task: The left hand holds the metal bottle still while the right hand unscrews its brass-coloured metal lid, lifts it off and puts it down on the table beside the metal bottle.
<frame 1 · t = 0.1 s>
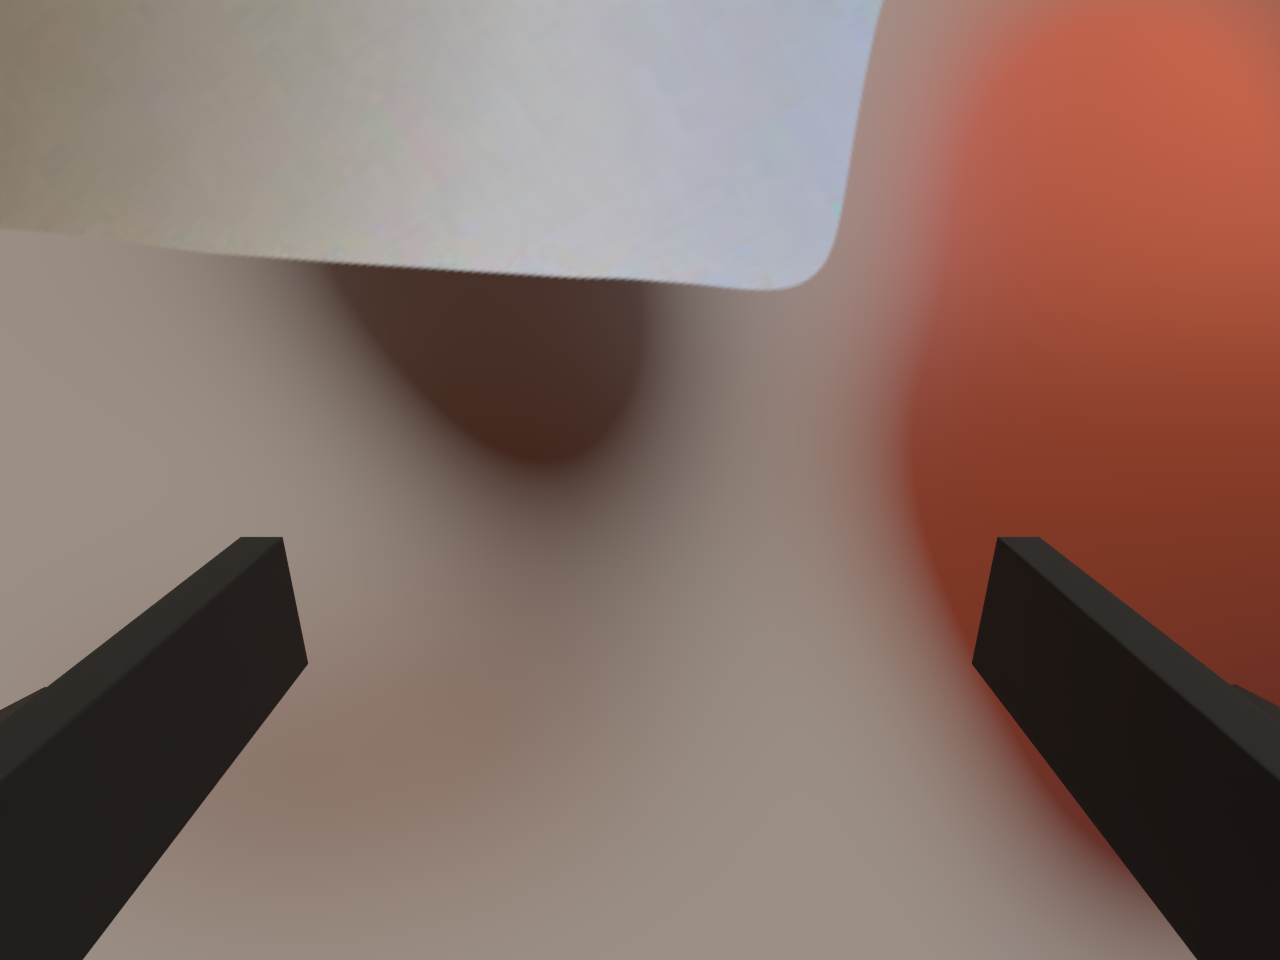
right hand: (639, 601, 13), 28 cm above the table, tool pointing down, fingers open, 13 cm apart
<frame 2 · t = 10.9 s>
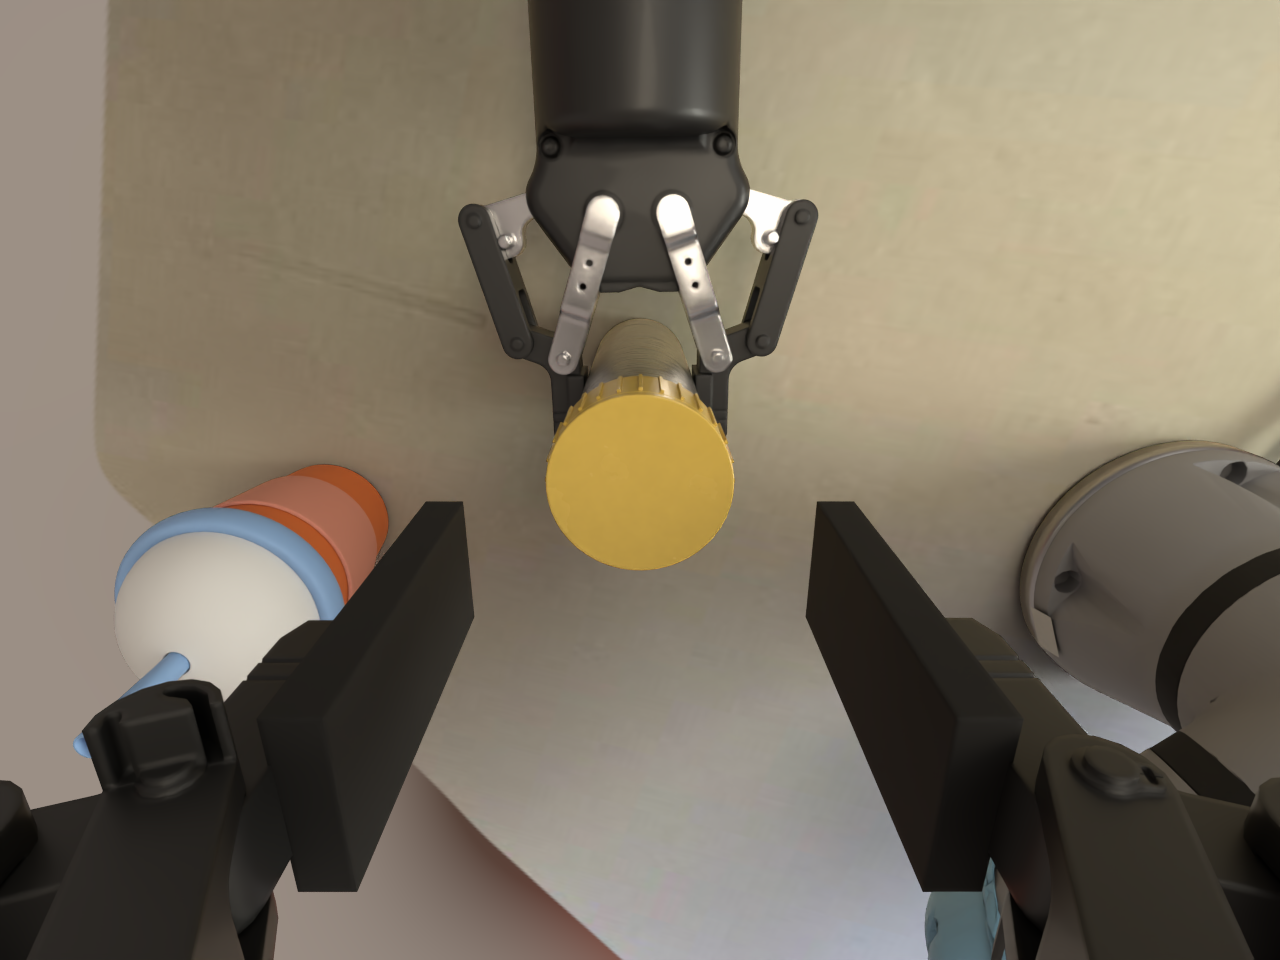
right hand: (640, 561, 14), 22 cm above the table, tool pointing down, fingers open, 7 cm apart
left hand: (641, 452, 30), fingers closed on metal bottle, 4 cm apart
cup with straw: (335, 513, 38), on the table
metal bottle: (640, 363, 35), on the table, touching left hand
lid: (639, 482, 19), point 17 cm above the table, screwed on, not yet turned
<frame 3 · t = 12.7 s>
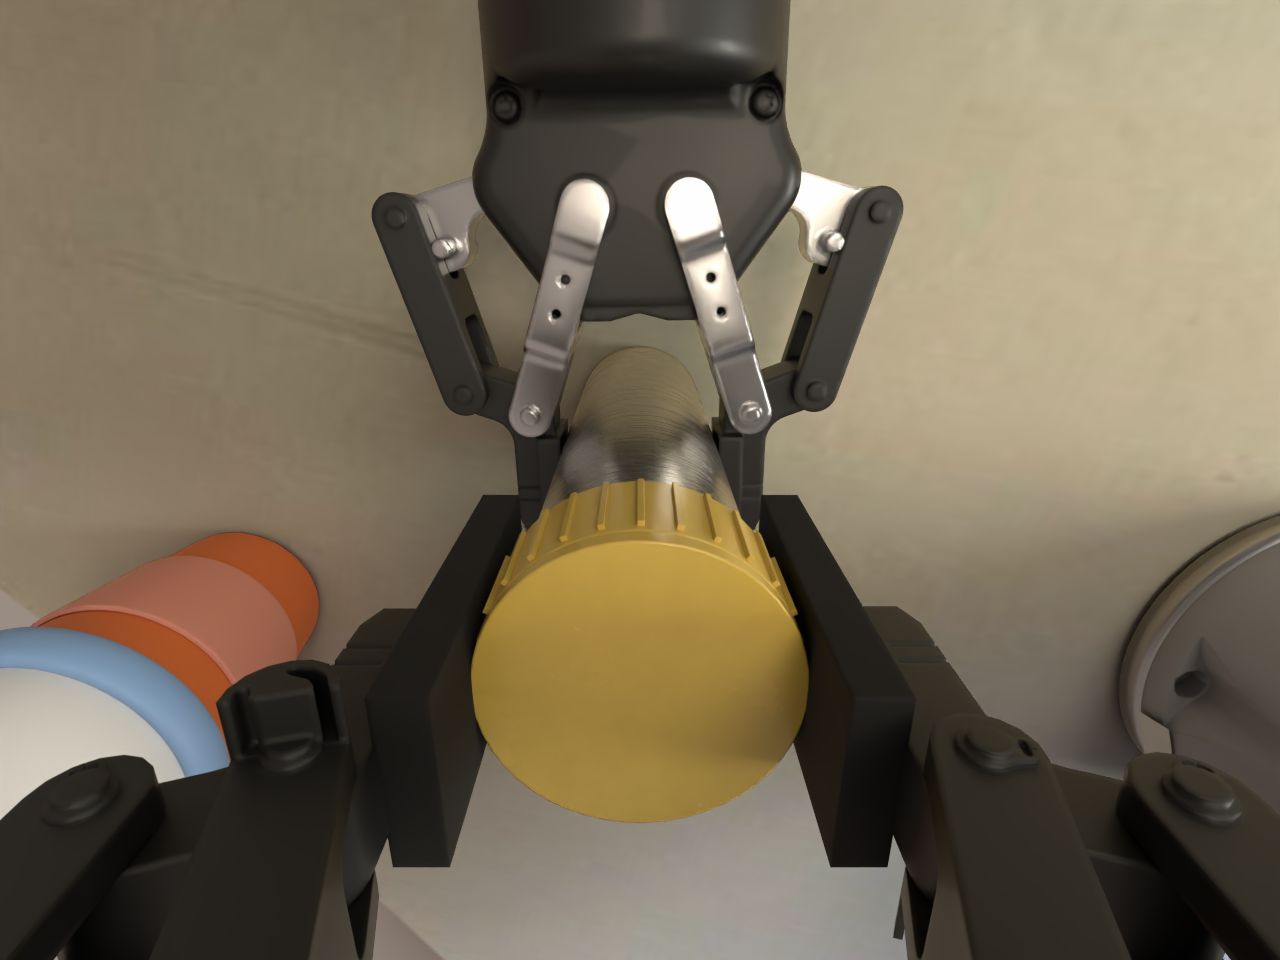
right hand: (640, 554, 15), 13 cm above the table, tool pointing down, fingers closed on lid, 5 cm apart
left hand: (642, 536, 22), fingers closed on metal bottle, 4 cm apart
cup with straw: (252, 592, 30), on the table
metal bottle: (640, 404, 27), on the table, touching left hand
lid: (639, 680, 11), point 17 cm above the table, screwed on, not yet turned, touching right hand
when the right hand's fingers open (13 cm above the table, at t = 14.0 s): lid stays where it is, point 18 cm above the table.
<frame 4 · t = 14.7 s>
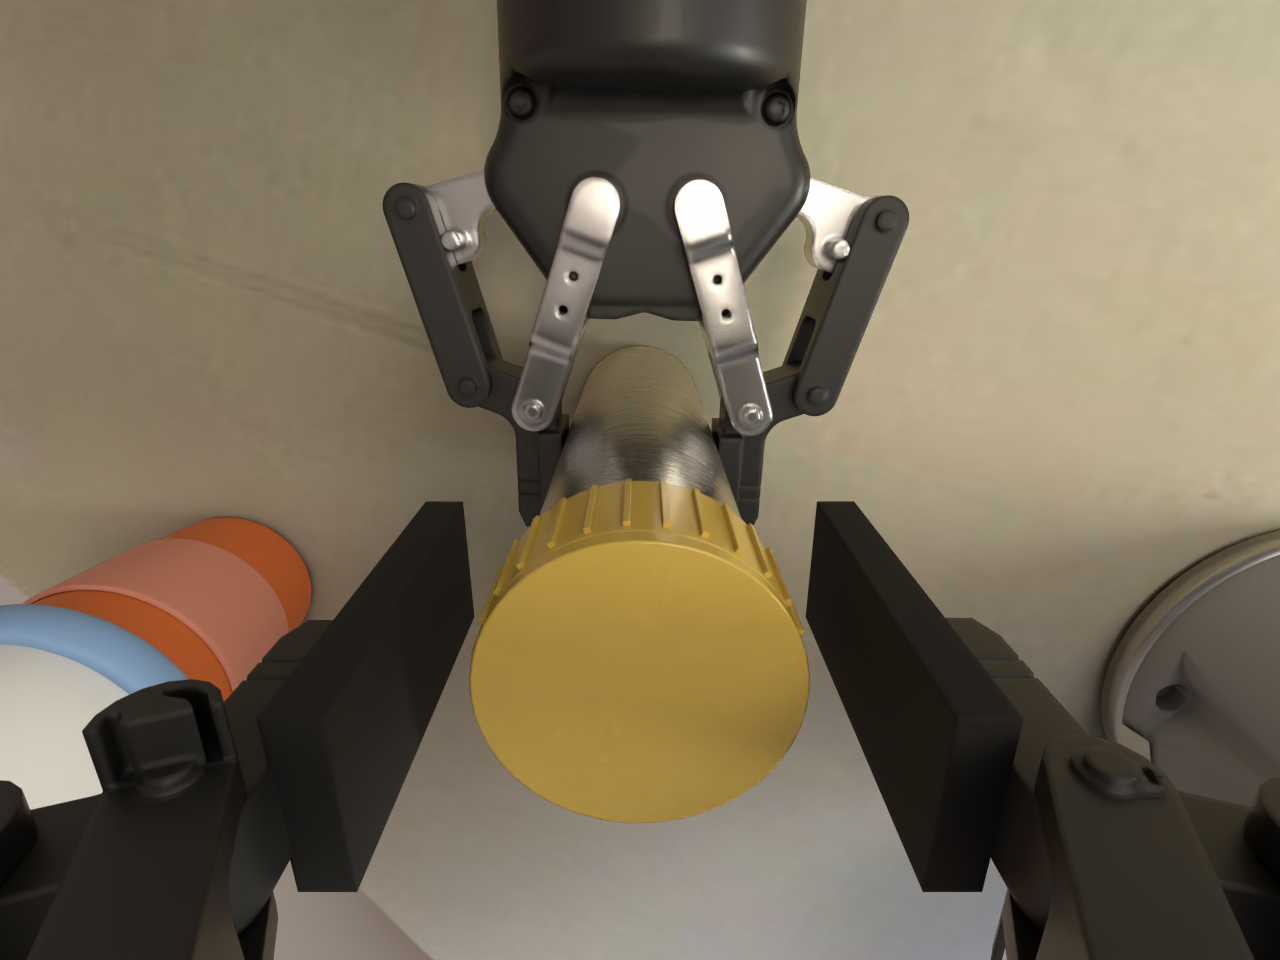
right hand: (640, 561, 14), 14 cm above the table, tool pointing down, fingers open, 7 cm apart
left hand: (639, 534, 22), fingers closed on metal bottle, 4 cm apart
cup with straw: (245, 577, 30), on the table
metal bottle: (640, 403, 27), on the table, touching left hand
lid: (639, 680, 10), point 18 cm above the table, turned 84° so far, risen 0.2 cm, still on its thread
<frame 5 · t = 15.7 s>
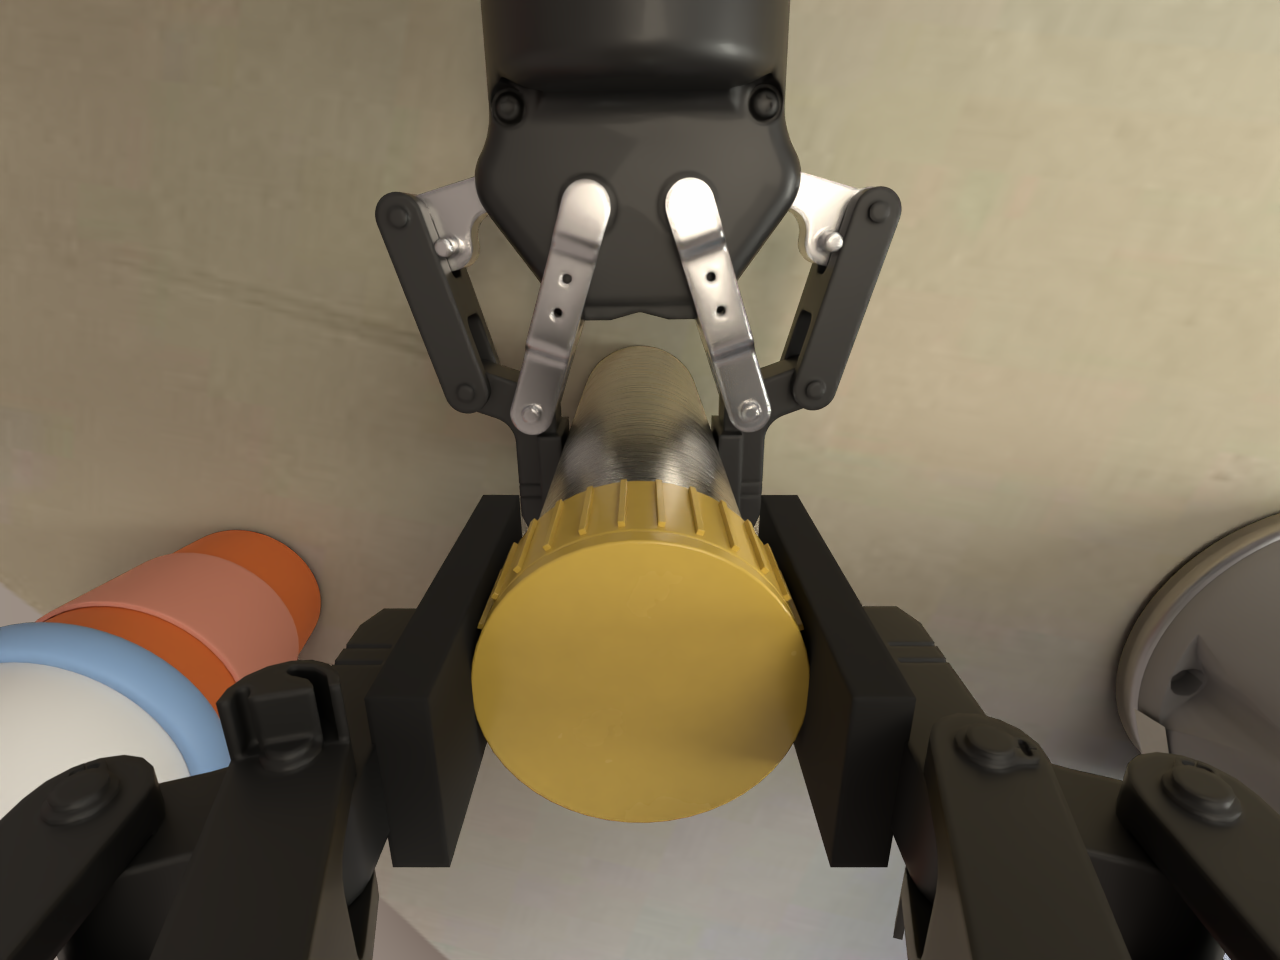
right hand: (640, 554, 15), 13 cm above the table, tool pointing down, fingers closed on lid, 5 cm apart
left hand: (642, 534, 22), fingers closed on metal bottle, 4 cm apart
cup with straw: (254, 589, 30), on the table
metal bottle: (640, 403, 27), on the table, touching left hand
lid: (640, 680, 11), point 18 cm above the table, turned 84° so far, risen 0.2 cm, still on its thread, touching right hand
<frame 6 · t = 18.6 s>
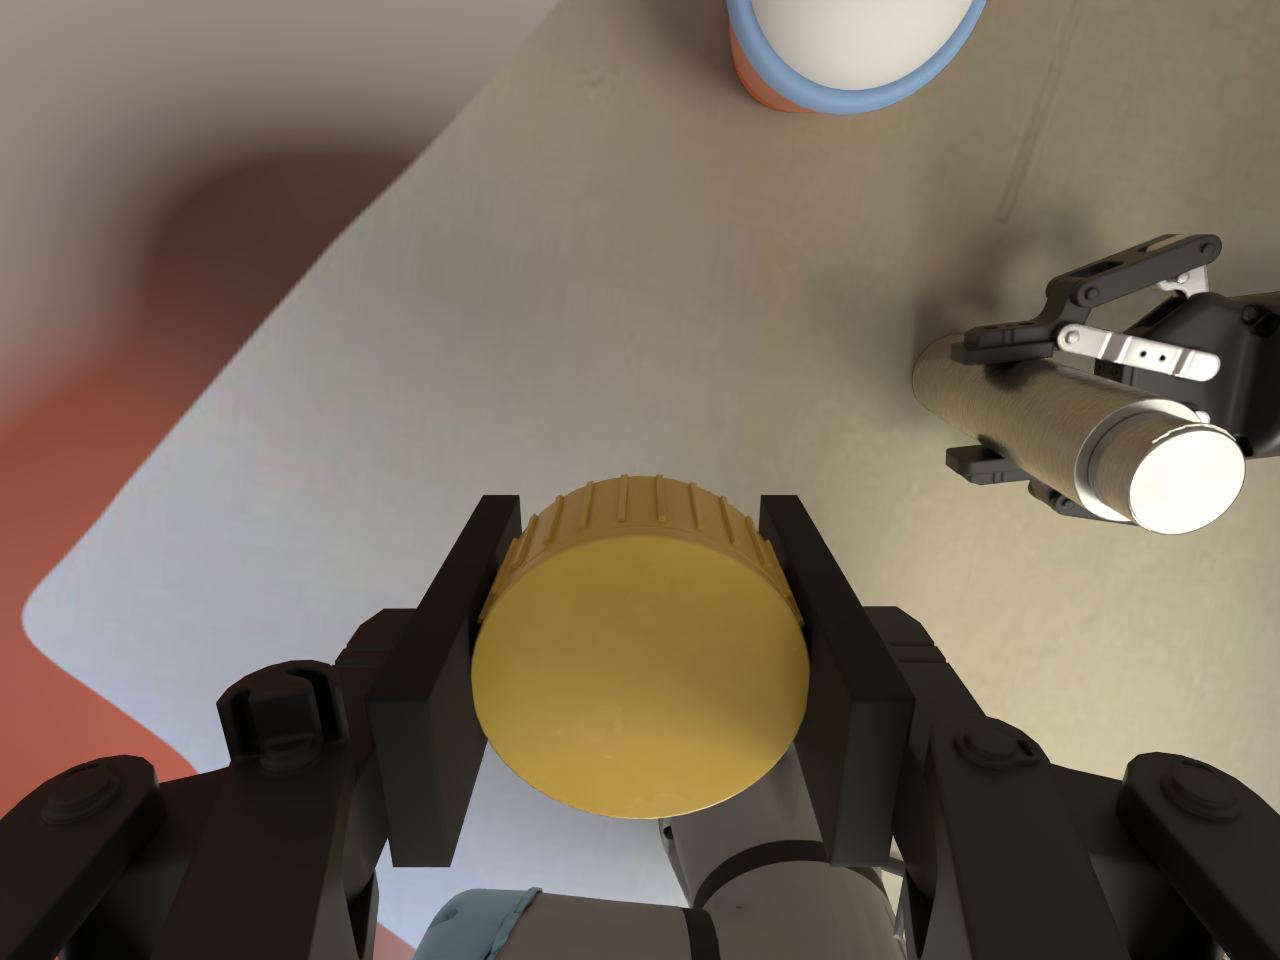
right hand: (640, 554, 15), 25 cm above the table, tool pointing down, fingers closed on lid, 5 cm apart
left hand: (956, 410, 32), fingers closed on metal bottle, 4 cm apart
cup with straw: (794, 41, 32), on the table
metal bottle: (952, 375, 38), on the table, touching left hand
lid: (640, 675, 10), point 29 cm above the table, off its thread, touching right hand
when the right hand's fingers open (0 cm above the table, at t = 21.9 s): lid drops 2 cm, point 2 cm above the table.
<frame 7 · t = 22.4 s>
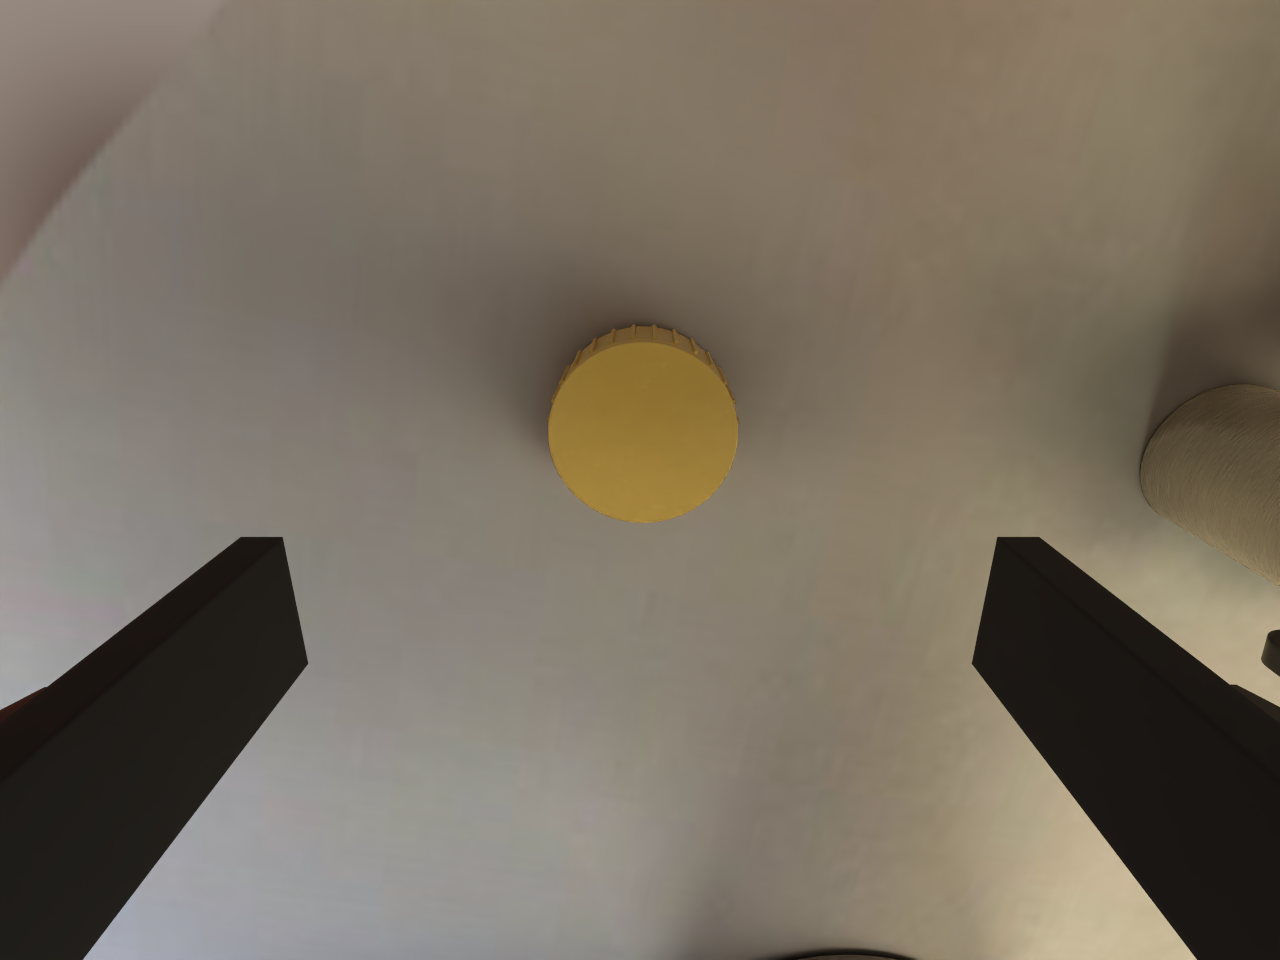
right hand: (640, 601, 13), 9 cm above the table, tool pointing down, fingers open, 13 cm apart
metal bottle: (1216, 456, 21), on the table, touching left hand
lid: (643, 433, 18), point 2 cm above the table, off its thread
when the left hand's fingers open (7 cm above the table, at t = 22.5 s): metal bottle stays where it is, on the table.
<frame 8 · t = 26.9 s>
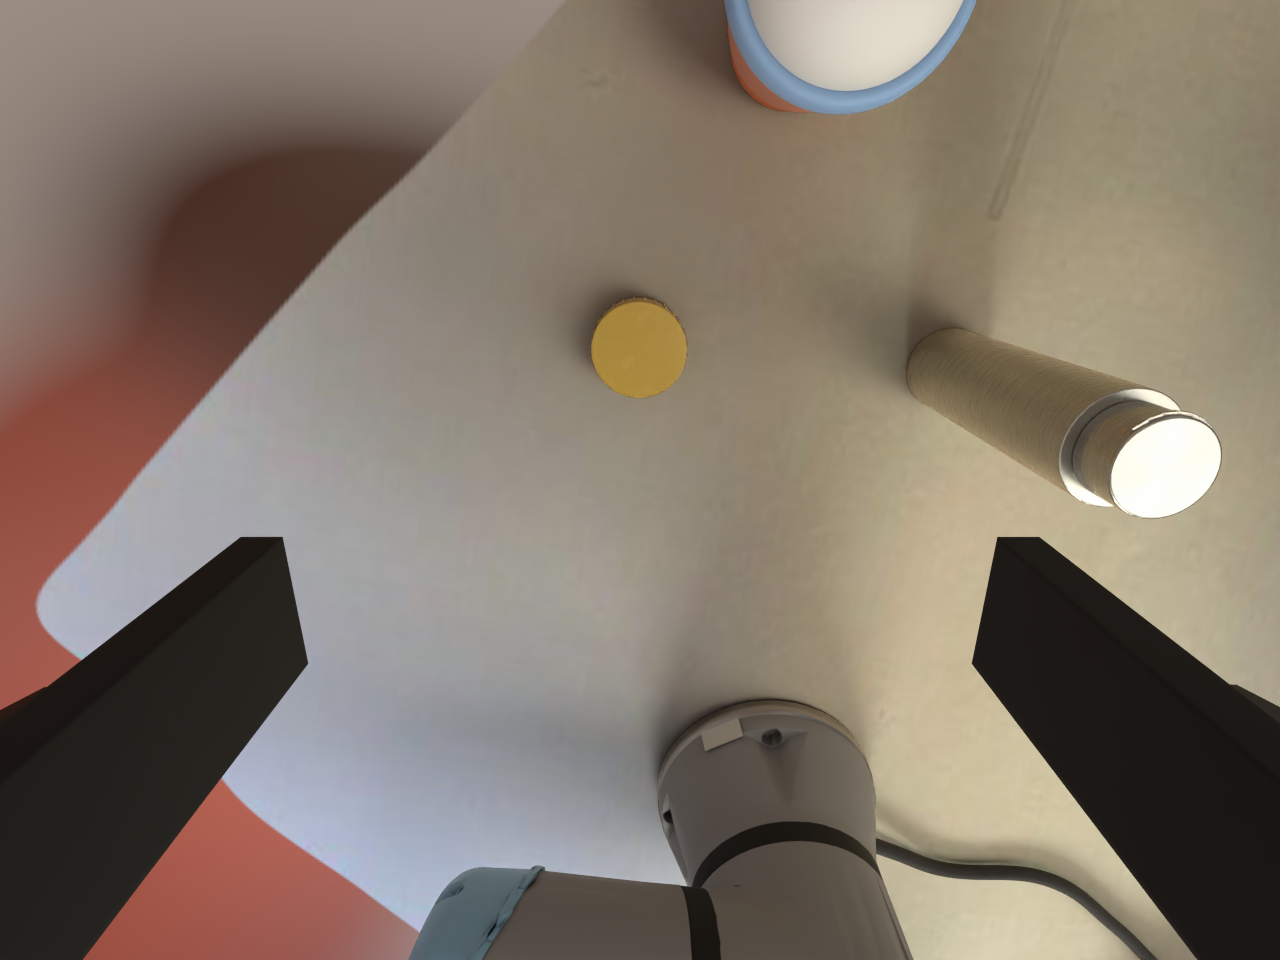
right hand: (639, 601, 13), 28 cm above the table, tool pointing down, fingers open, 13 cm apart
cup with straw: (791, 42, 33), on the table
metal bottle: (946, 368, 39), on the table
lid: (639, 350, 37), point 2 cm above the table, off its thread
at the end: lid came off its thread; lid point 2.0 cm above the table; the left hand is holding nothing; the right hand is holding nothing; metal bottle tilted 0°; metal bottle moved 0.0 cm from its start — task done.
